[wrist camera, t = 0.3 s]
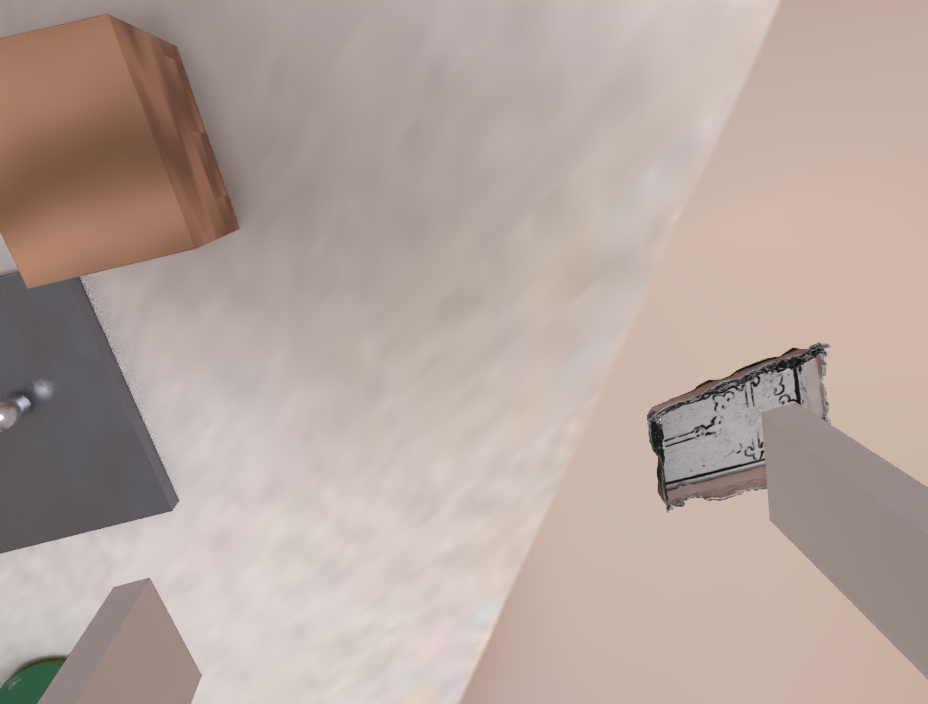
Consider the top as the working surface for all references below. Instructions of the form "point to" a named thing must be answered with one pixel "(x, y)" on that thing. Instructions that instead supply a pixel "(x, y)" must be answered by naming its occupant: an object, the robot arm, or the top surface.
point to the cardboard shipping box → (101, 152)
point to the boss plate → (67, 422)
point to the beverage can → (30, 683)
